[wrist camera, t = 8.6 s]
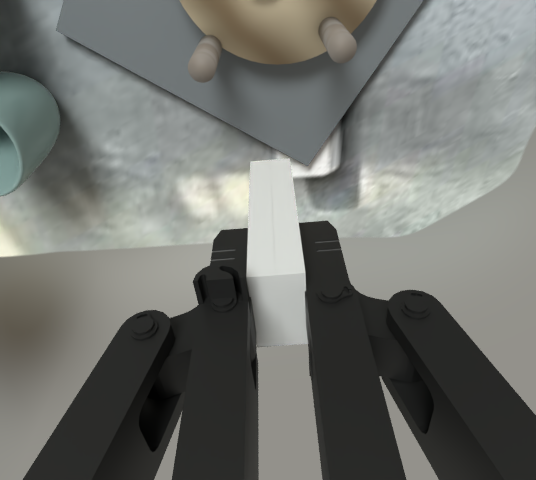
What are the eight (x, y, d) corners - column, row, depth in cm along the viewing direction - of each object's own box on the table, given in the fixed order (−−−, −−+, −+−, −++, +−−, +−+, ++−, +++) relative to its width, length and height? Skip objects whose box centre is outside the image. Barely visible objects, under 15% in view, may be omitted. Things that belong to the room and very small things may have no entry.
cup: (70, 71, 37) (17, 112, 29) (74, 152, 41) (29, 207, 33) (-26, 50, 36) (-109, 86, 28) (-11, 136, 40) (-79, 188, 32)
